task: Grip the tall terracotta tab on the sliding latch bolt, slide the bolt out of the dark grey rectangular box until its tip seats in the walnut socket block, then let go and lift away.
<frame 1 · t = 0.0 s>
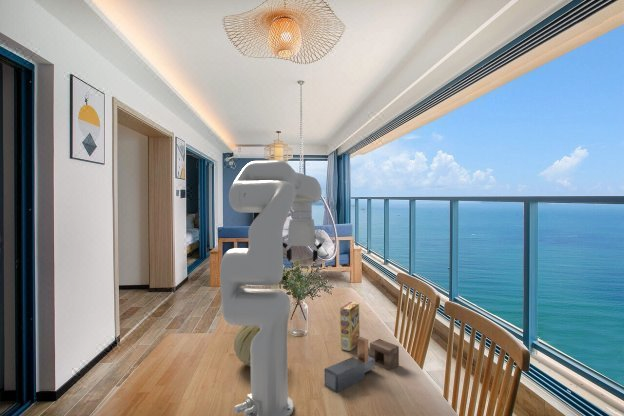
hand: (302, 260, 138), 31 cm above the table, tool pointing down, fingers open, 9 cm apart
dark grey rectangular box: (344, 381, 108), on the table
candy box: (350, 346, 134), on the table
cantaloupe: (257, 365, 120), on the table
socket: (384, 363, 120), on the table
sliding latch bolt: (354, 358, 111), point 6 cm above the table, slide at 0.0 cm
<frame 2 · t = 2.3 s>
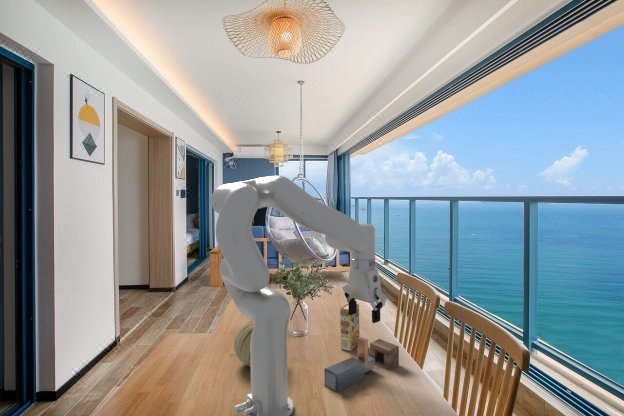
hand: (364, 317, 113), 18 cm above the table, tool pointing down, fingers open, 9 cm apart
nothing on the table moved.
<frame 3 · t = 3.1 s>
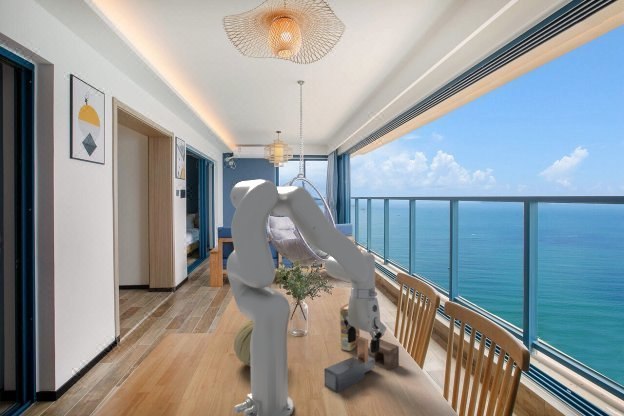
hand: (363, 346, 113), 9 cm above the table, tool pointing down, fingers open, 9 cm apart
nothing on the table moved.
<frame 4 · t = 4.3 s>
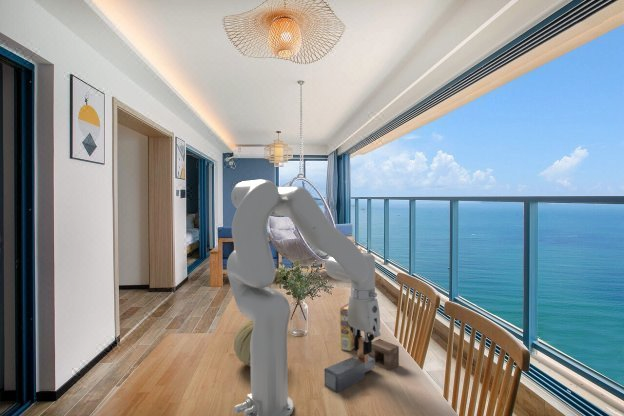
hand: (362, 350, 113), 7 cm above the table, tool pointing down, fingers closed on sliding latch bolt, 3 cm apart
sliding latch bolt: (354, 358, 111), point 6 cm above the table, slide at 0.0 cm, touching gripper
everything else where it was.
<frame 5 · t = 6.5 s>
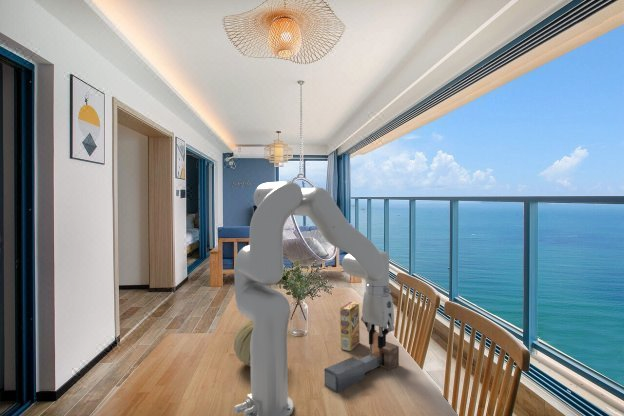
hand: (377, 344, 118), 7 cm above the table, tool pointing down, fingers closed on sliding latch bolt, 3 cm apart
sliding latch bolt: (369, 351, 115), point 6 cm above the table, slide at 7.0 cm, touching gripper
everything else where it was.
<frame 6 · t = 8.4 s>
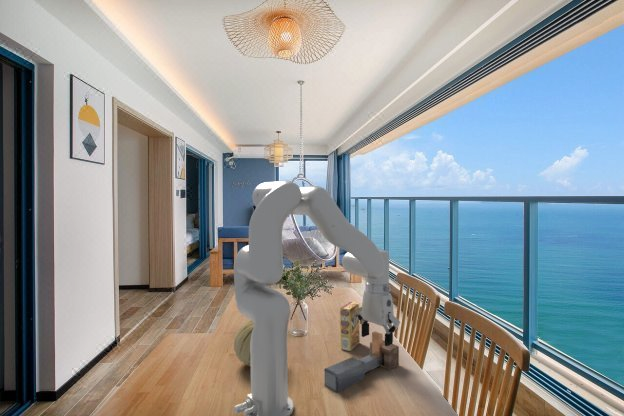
hand: (376, 340, 118), 9 cm above the table, tool pointing down, fingers open, 9 cm apart
sliding latch bolt: (369, 351, 115), point 6 cm above the table, slide at 7.0 cm
everything else where it was.
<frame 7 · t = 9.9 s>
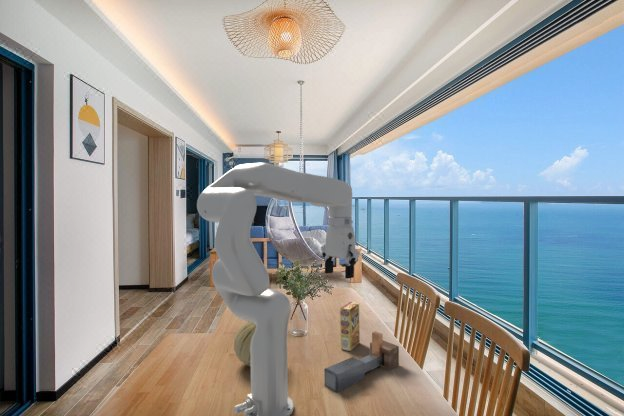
hand: (338, 275, 117), 30 cm above the table, tool pointing down, fingers open, 9 cm apart
nothing on the table moved.
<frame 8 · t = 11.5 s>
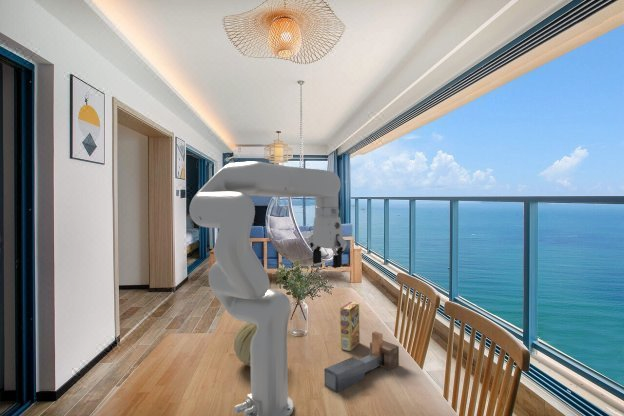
hand: (327, 265, 118), 33 cm above the table, tool pointing down, fingers open, 9 cm apart
nothing on the table moved.
at the end: sliding latch bolt slide at 7.0 cm; the gripper is holding nothing; candy box moved 0.2 cm from its start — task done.
